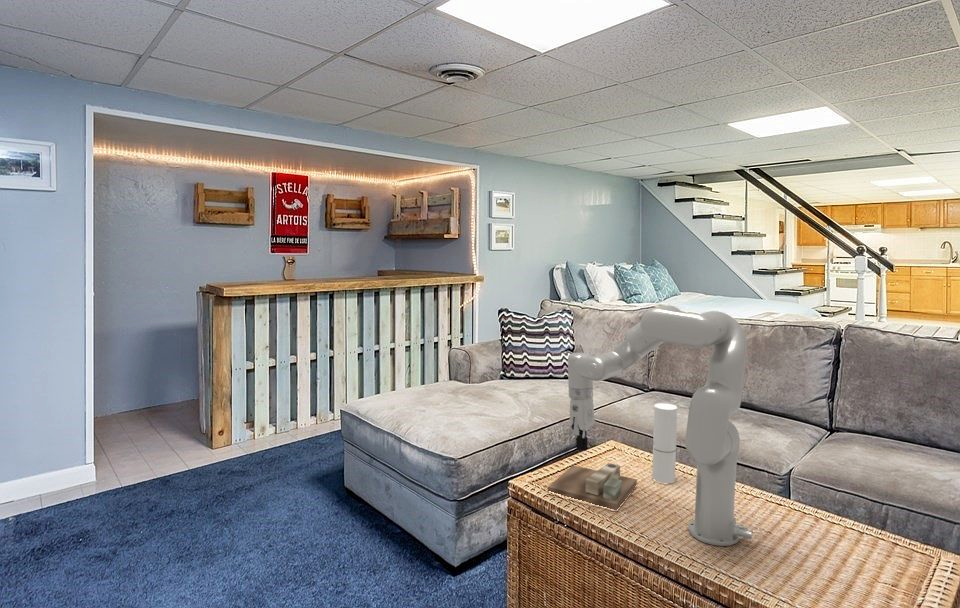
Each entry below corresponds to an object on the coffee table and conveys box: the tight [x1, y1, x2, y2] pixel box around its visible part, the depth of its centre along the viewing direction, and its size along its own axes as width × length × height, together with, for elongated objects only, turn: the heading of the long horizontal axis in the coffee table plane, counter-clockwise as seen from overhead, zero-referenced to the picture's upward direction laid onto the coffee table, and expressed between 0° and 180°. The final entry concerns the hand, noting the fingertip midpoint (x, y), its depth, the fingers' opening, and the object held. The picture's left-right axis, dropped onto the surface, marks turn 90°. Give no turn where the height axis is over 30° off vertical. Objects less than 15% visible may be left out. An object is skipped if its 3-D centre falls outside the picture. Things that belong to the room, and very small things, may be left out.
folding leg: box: [586, 462, 621, 495], centre depth 170 cm, size 16×4×4 cm, turn 142°
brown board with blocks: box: [547, 464, 638, 510], centre depth 172 cm, size 22×20×6 cm
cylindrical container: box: [651, 402, 678, 483], centre depth 179 cm, size 7×7×25 cm
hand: (582, 449), depth 172 cm, fingers closed
